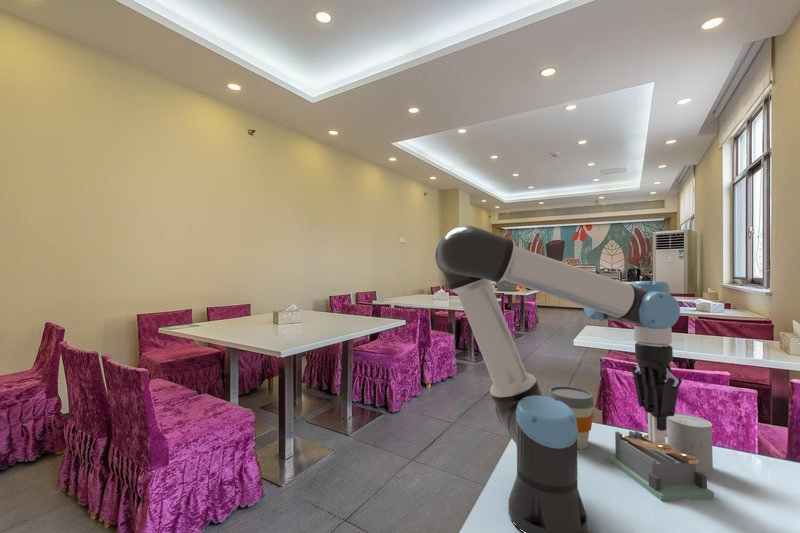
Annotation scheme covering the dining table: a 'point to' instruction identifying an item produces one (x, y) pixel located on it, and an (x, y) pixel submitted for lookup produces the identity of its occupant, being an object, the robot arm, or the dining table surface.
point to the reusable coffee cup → (577, 409)
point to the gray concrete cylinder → (692, 439)
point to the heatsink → (659, 471)
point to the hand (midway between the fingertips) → (656, 441)
